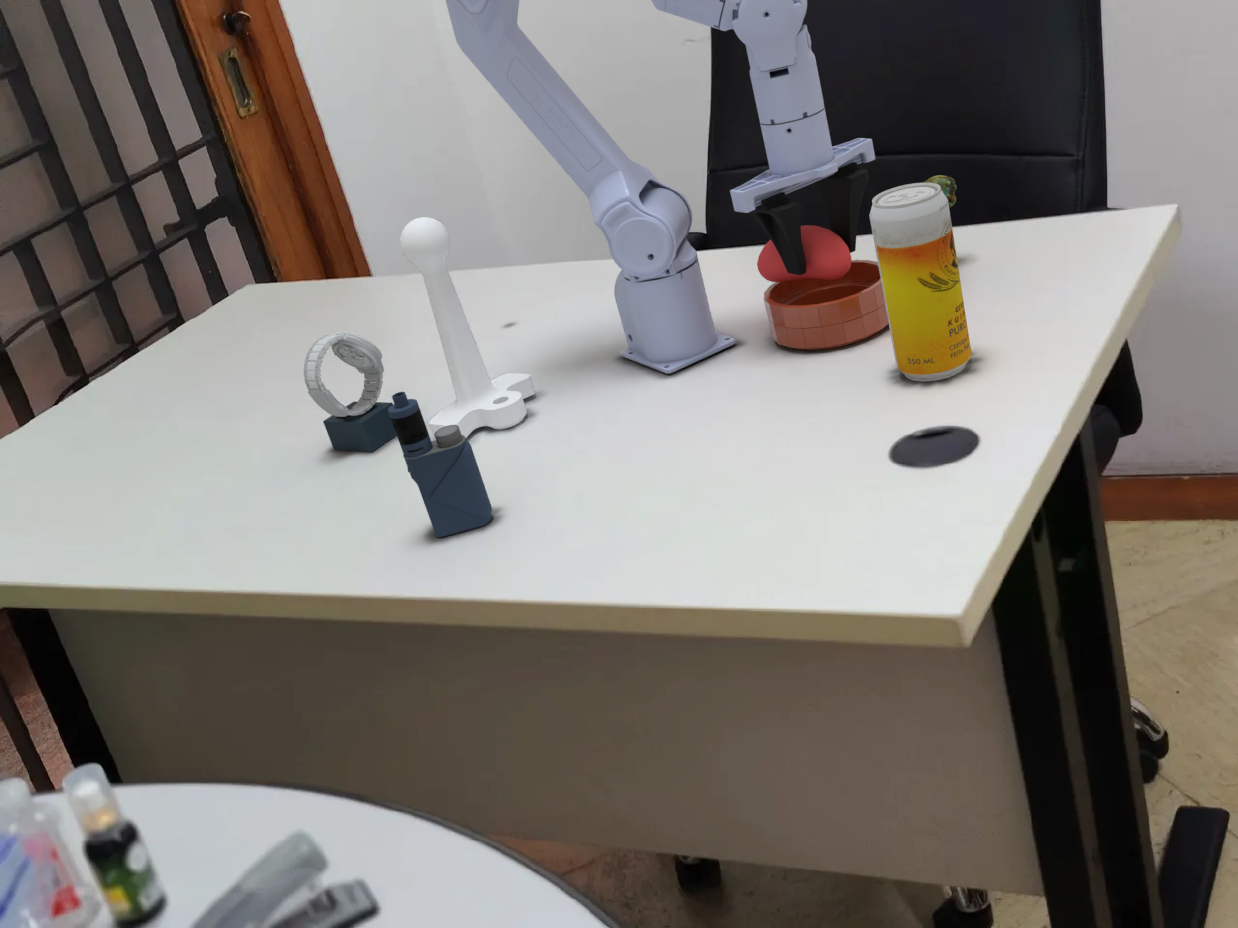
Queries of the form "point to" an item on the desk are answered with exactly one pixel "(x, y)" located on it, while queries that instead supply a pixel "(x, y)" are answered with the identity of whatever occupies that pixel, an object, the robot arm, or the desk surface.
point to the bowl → (827, 309)
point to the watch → (359, 420)
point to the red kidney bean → (809, 257)
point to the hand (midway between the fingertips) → (821, 261)
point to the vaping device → (441, 470)
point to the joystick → (461, 342)
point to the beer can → (920, 281)
